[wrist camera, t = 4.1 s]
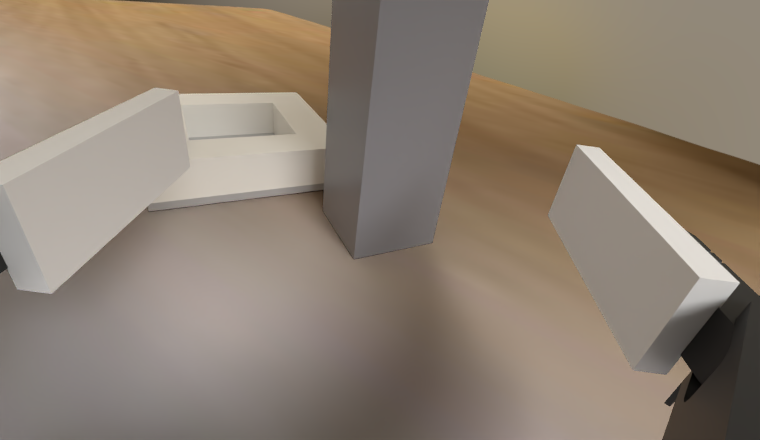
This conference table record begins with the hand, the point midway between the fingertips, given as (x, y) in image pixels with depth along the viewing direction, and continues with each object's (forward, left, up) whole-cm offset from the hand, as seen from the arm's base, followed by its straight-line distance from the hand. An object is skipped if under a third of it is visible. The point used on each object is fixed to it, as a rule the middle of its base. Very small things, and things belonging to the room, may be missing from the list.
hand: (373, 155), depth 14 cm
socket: (+2, -17, -8) cm, 19 cm away
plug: (-4, -6, -8) cm, 11 cm away
